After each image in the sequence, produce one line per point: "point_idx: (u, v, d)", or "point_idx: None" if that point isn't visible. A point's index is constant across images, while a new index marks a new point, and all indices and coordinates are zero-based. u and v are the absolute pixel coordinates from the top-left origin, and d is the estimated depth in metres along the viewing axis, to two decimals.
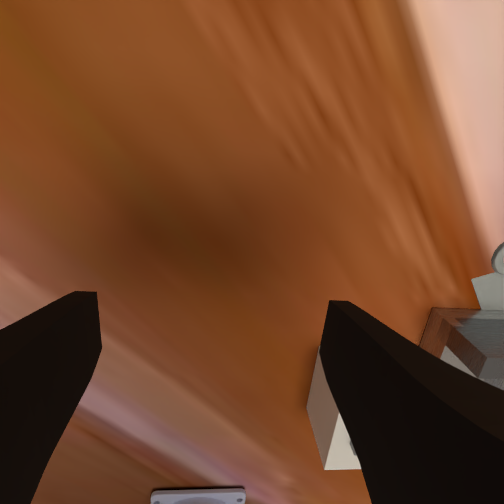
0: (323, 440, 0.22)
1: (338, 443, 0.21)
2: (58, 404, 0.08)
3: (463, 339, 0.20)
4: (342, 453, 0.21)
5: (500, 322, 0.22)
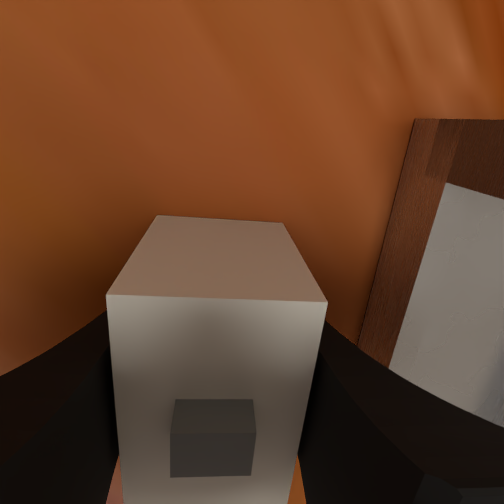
0: None
1: (142, 440, 0.07)
2: None
3: (500, 128, 0.07)
4: (163, 468, 0.08)
5: None
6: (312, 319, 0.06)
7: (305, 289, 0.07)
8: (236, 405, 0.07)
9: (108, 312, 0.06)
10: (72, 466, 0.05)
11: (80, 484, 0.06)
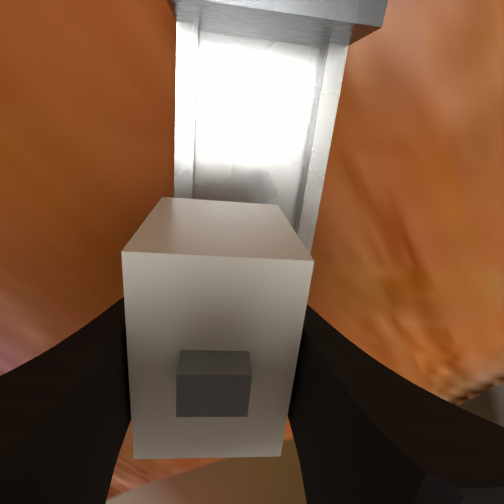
0: None
1: (150, 389, 0.08)
2: (124, 404, 0.08)
3: None
4: (169, 417, 0.08)
5: None
6: (301, 276, 0.07)
7: (295, 252, 0.07)
8: (234, 355, 0.08)
9: (123, 268, 0.07)
10: (71, 466, 0.05)
11: (79, 484, 0.06)
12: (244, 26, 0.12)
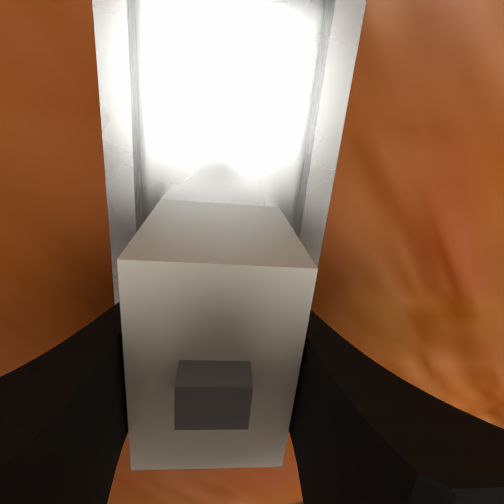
0: None
1: (148, 399, 0.08)
2: (126, 404, 0.08)
3: None
4: (167, 427, 0.08)
5: None
6: (304, 284, 0.07)
7: (298, 259, 0.07)
8: (235, 365, 0.07)
9: (118, 276, 0.07)
10: (74, 466, 0.05)
11: (81, 484, 0.06)
12: None
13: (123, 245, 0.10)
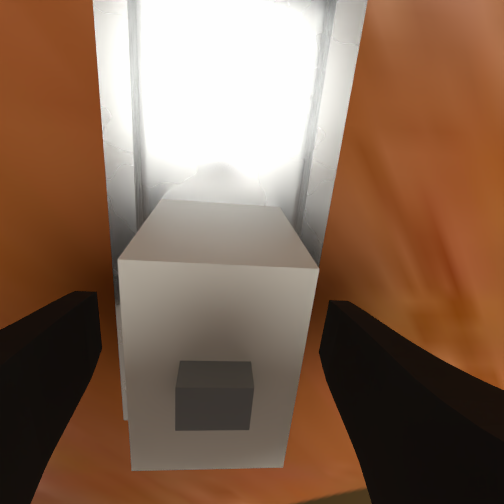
0: None
1: (149, 400, 0.08)
2: (58, 404, 0.08)
3: None
4: (167, 428, 0.08)
5: None
6: (305, 285, 0.07)
7: (299, 259, 0.07)
8: (235, 366, 0.07)
9: (119, 276, 0.06)
10: None
11: None
12: None
13: (124, 245, 0.10)
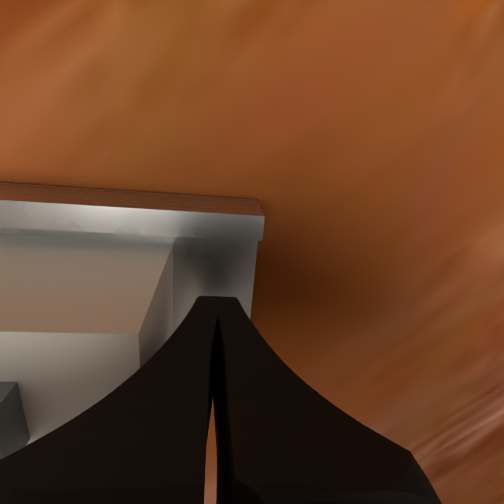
0: None
1: None
2: (209, 404, 0.08)
3: None
4: None
5: None
6: None
7: None
8: None
9: None
10: None
11: None
12: None
13: None
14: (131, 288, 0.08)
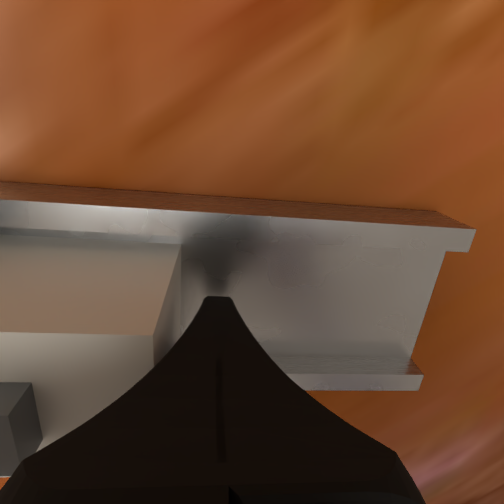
0: None
1: None
2: None
3: None
4: None
5: None
6: None
7: None
8: None
9: None
10: None
11: None
12: None
13: None
14: (142, 288, 0.08)
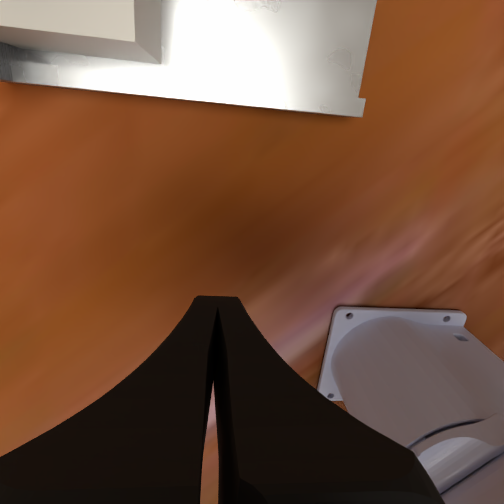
0: (100, 42, 0.11)
1: (51, 12, 0.10)
2: (207, 404, 0.08)
3: None
4: None
5: None
6: None
7: None
8: None
9: None
10: (201, 463, 0.05)
11: None
12: None
13: (203, 91, 0.15)
14: None
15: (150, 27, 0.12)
